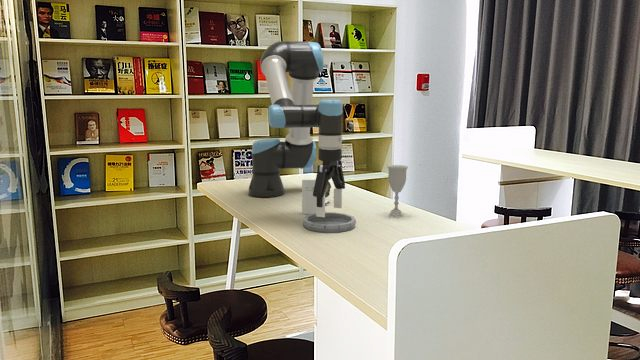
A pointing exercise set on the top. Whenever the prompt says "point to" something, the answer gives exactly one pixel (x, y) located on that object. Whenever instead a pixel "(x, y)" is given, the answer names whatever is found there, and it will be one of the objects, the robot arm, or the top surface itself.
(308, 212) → the external hard drive
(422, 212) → the top surface
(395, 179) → the chalice
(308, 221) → the dish
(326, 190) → the eagle figurine
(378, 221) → the top surface
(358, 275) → the top surface
